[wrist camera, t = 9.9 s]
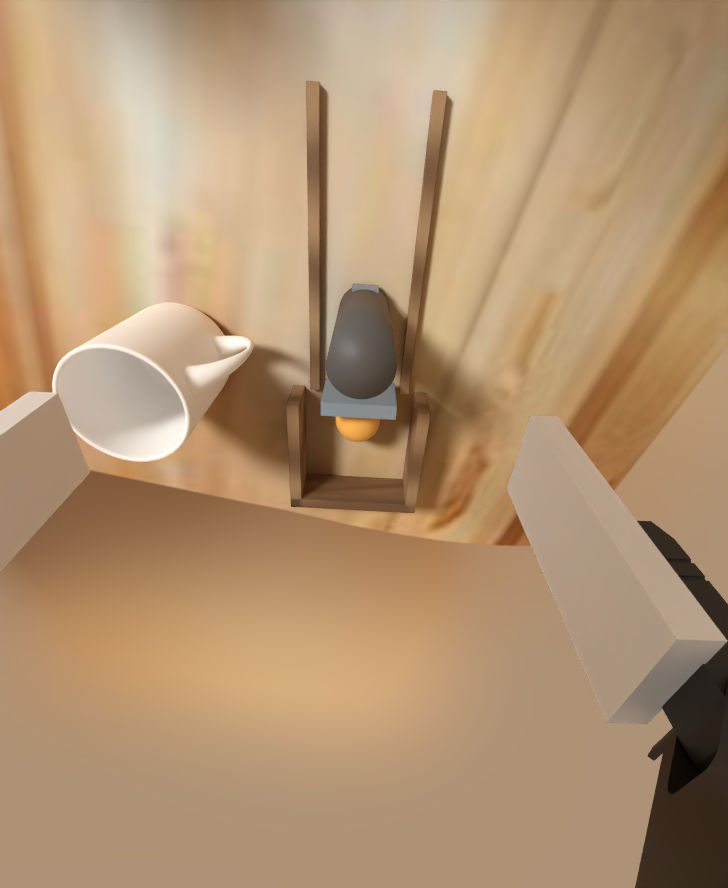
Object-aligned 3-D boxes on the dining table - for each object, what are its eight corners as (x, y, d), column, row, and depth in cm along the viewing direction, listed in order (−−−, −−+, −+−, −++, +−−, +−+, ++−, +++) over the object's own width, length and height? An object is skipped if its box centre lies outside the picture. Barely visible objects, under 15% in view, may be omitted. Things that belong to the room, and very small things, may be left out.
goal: (293, 385, 37) (286, 405, 34) (425, 393, 38) (430, 414, 34) (297, 481, 43) (291, 506, 40) (410, 487, 44) (414, 513, 40)
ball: (333, 445, 35) (336, 434, 39) (379, 448, 36) (377, 437, 39) (335, 399, 34) (337, 393, 38) (382, 402, 35) (380, 395, 38)
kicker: (327, 282, 32) (307, 329, 22) (403, 287, 32) (418, 336, 22) (326, 388, 37) (309, 466, 27) (392, 392, 37) (400, 471, 27)
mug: (285, 375, 37) (258, 438, 28) (165, 404, 39) (103, 472, 30) (247, 276, 32) (199, 313, 23) (113, 314, 34) (21, 363, 25)
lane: (307, 82, 26) (306, 81, 26) (445, 93, 26) (447, 91, 26) (311, 386, 37) (310, 389, 37) (407, 392, 38) (408, 395, 37)
